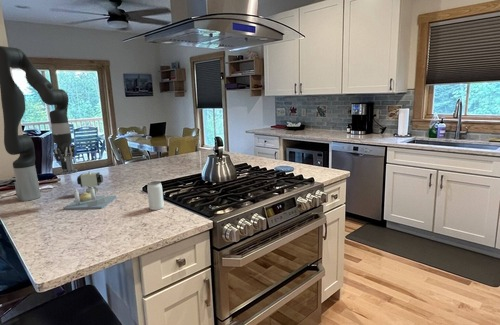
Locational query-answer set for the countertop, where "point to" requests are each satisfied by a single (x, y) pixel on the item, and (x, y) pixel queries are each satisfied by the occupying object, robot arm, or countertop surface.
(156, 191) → the can
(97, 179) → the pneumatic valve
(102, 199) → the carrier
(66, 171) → the planet gear
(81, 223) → the countertop surface
